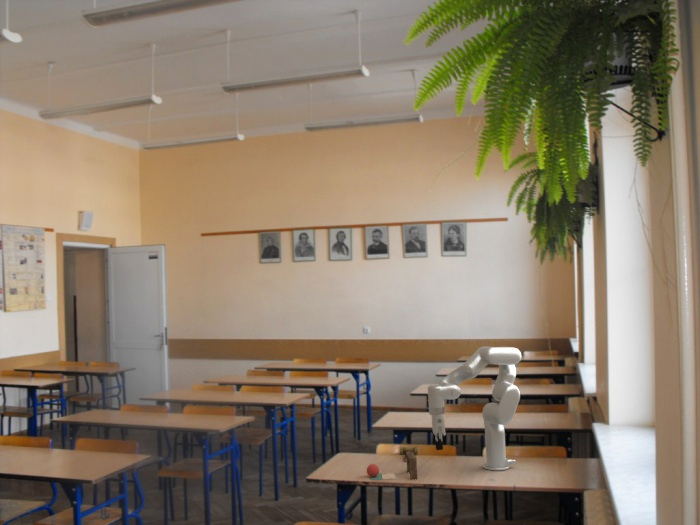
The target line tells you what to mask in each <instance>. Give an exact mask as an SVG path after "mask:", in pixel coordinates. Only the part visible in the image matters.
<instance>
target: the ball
mask: <svg viewBox="0 0 700 525" xmlns="http://www.w3.org/2000/svg"><path fill="white" fill-rule="evenodd" d="M379 473H380V468H379V466H378V465H377V464H375V463H371V464H369V465H368V466H367V467H366V474H367V475H368V476H369V477H376V476H377V475H378V474H379Z"/></svg>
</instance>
